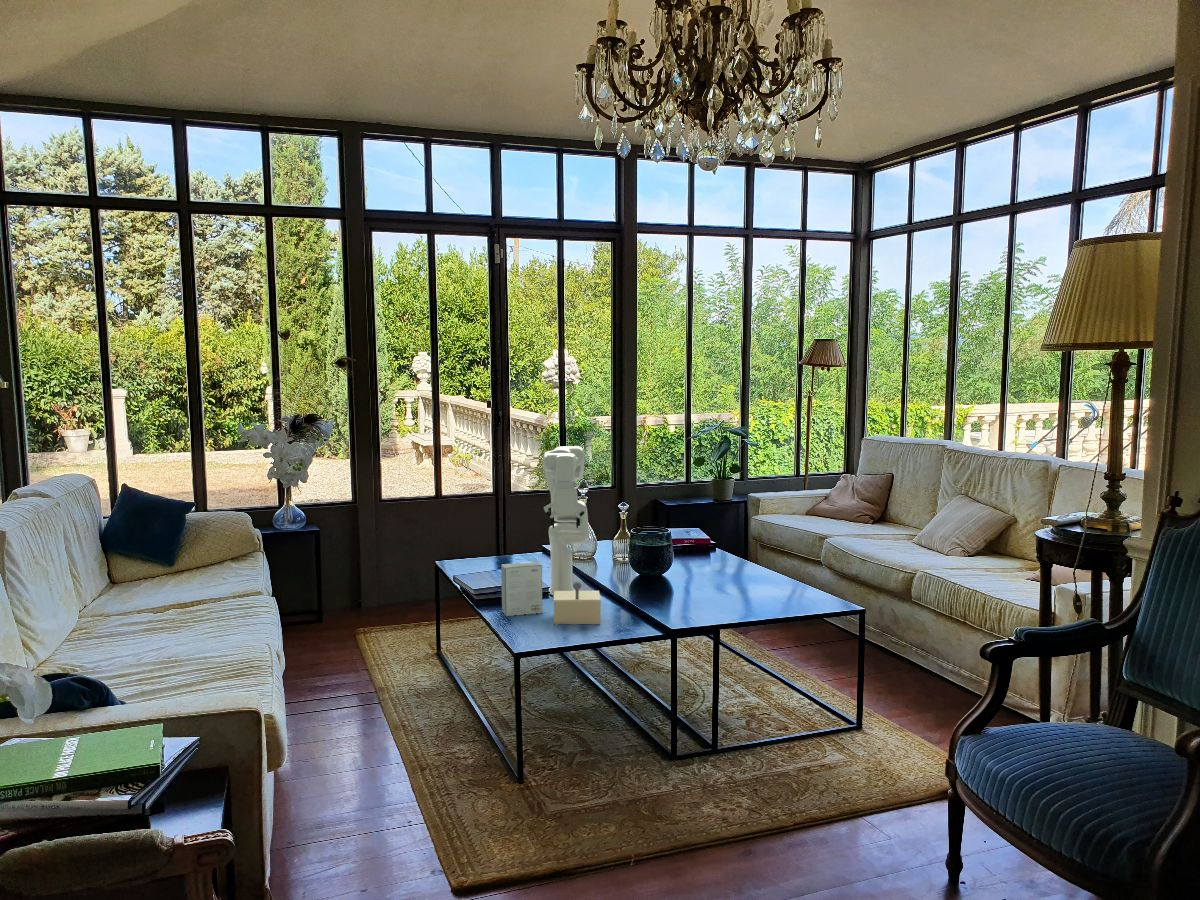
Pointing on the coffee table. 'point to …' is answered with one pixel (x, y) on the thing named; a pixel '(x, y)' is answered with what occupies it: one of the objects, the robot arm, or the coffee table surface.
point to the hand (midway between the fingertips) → (565, 527)
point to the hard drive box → (521, 588)
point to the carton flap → (577, 595)
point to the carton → (577, 612)
